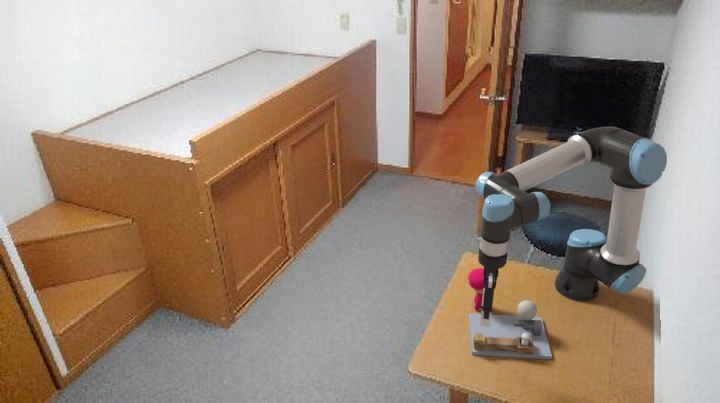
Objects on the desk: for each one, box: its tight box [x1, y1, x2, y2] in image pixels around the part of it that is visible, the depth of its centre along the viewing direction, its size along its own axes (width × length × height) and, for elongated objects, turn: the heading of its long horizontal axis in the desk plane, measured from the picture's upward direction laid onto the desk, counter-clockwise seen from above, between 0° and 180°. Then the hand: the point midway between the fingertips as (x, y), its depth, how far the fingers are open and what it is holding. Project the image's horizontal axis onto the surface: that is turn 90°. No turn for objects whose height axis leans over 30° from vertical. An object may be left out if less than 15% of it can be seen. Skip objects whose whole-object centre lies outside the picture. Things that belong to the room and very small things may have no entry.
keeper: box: [513, 319, 544, 336], centre depth 175 cm, size 9×2×6 cm, turn 84°
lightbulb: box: [516, 299, 538, 329], centre depth 176 cm, size 6×6×11 cm
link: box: [474, 333, 534, 354], centre depth 169 cm, size 18×5×4 cm, turn 84°
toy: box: [467, 267, 485, 312], centre depth 186 cm, size 8×8×15 cm
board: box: [467, 313, 553, 360], centre depth 175 cm, size 24×18×7 cm
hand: (485, 316), depth 157 cm, fingers open, 7 cm apart
